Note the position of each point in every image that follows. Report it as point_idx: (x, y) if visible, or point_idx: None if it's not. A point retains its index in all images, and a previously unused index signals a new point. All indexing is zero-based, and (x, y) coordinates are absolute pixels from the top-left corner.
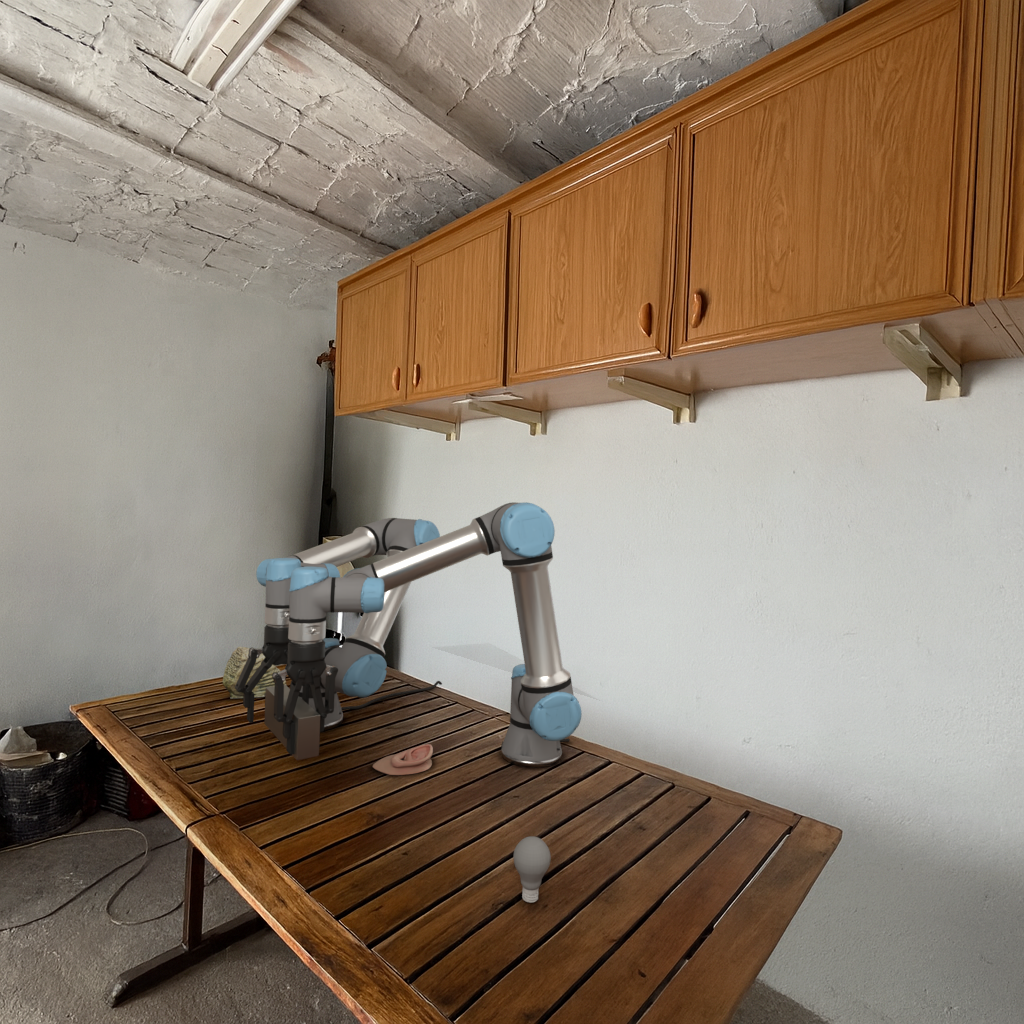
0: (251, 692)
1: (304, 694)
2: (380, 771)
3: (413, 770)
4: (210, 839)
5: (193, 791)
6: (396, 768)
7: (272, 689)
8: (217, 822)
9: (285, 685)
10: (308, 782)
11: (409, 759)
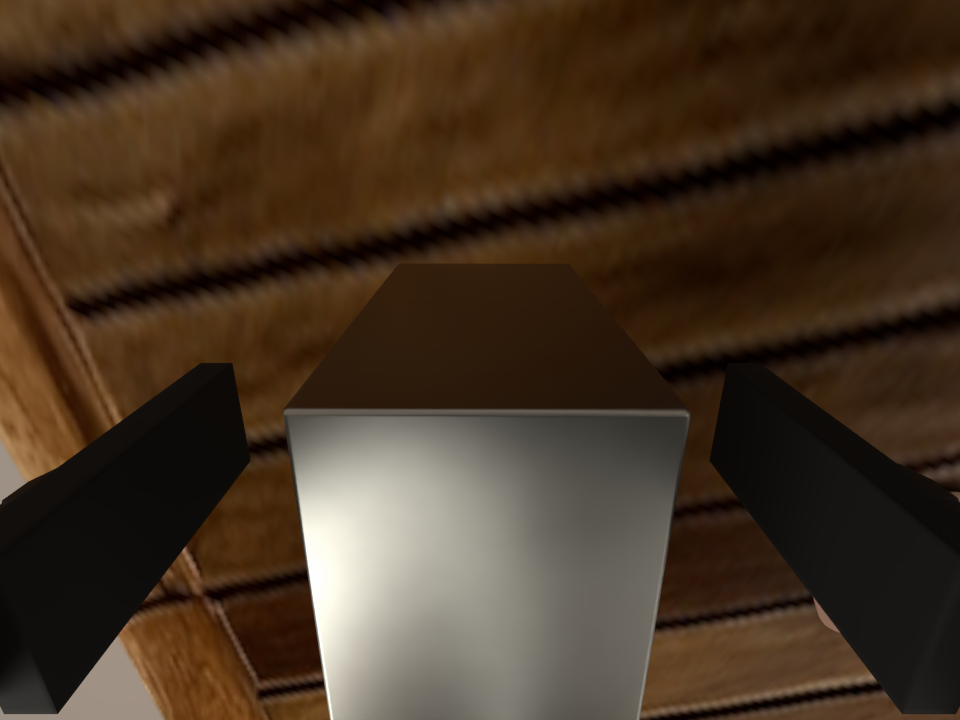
0: (1, 642)
1: (824, 543)
2: None
3: None
4: (177, 704)
5: (100, 398)
6: None
7: (378, 577)
8: (196, 638)
9: (667, 468)
10: None
11: None
